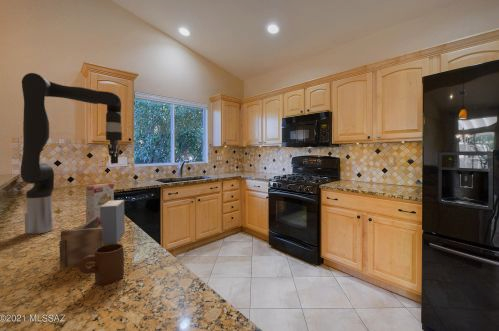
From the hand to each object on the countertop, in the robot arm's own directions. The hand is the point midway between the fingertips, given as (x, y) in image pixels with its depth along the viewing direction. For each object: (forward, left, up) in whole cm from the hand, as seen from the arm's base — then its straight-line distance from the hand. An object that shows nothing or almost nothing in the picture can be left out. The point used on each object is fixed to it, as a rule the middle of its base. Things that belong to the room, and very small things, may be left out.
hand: (114, 163), depth 125 cm
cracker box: (-10, +10, -33) cm, 36 cm away
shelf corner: (+2, -35, -33) cm, 48 cm away
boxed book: (+5, -24, -33) cm, 41 cm away
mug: (+12, -64, -33) cm, 73 cm away
